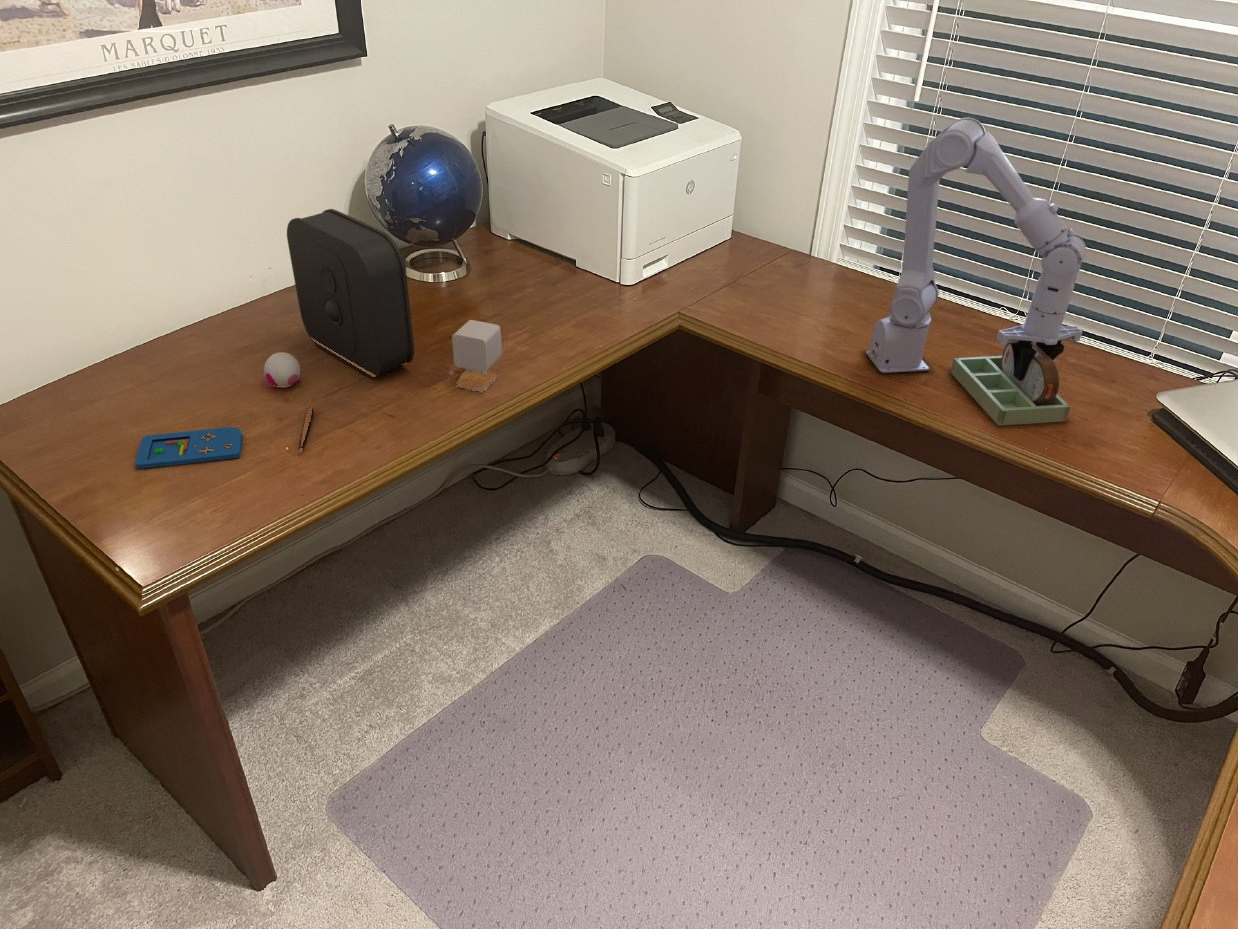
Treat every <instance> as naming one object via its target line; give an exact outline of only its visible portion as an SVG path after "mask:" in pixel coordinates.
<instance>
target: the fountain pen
mask: <svg viewBox="0 0 1238 929" xmlns="http://www.w3.org/2000/svg"><path fill="white" fill-rule="evenodd" d="M310 407H311V406H309V407H308V409H309V408H310ZM306 414H307V412H306ZM306 414H305V415H304V416H305V417H306ZM305 417H304V420H303V426H302V430H301V432H302V431H303V427H304V423H305V422H304V421H305ZM313 419H314V407H313V408H312V415H311V420H310V422H309V426H308V430H307V433H306V436H305V440H304V442H303V445H302V447H300V446H301V437H302V433H301V434H300V439H299V446H298V453H299V454H301V453H303V451H304V450H305V447H306V443H307V441H308V437H309V434H310V430H311V426H312V425H313V424H312V423H313Z"/></svg>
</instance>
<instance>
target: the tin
mask: <svg viewBox="0 0 1238 929" xmlns="http://www.w3.org/2000/svg"><path fill="white" fill-rule="evenodd" d="M1031 344H1033V346H1032V347H1033V348H1034V349H1035V350H1036V351H1037V353H1036V354H1035V355H1034V357H1033V358H1032V360H1031V362H1030V364H1029V366H1028V368H1027V371H1026V374H1025V377H1024V379H1023V380H1022V381H1018V380H1017V379H1016V378H1015V377H1014V376H1013V375H1014V357H1013V351H1012V347H1011V344H1010V343H1007V345H1004V349H1003V352H1002V355H1001V356H1002V359H1001V370H1002V372H1003V373H1004V374H1005V375H1006V376H1007V377H1008V378H1009V379H1010V380H1011V381H1012V382H1013V383H1014V384H1015V385H1016V386H1017V387H1018V388H1019V389H1020V390H1021V391H1022V392H1023V393H1024V394H1025V395H1026V396H1027V397H1028V398H1029V399H1030V400H1031V401H1032V402H1033V403H1034V404H1035V405H1041V404H1042V405H1047V404H1050V403H1051V402H1052V401H1053V400H1054V399H1055V397H1056V395H1057V394H1058V392H1059V389H1060V372H1059V368H1058V366H1057V364H1056V362H1054V360H1052V359H1051V358H1050V357H1048V356H1047V355H1046V354H1045V353H1044V352H1043V351H1042V350H1041V349H1040V348H1039V347H1038V346H1037V345H1036V342H1032V343H1031Z"/></svg>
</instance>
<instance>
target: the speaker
mask: <svg viewBox="0 0 1238 929" xmlns="http://www.w3.org/2000/svg"><path fill="white" fill-rule="evenodd" d="M286 240H287V245H288V251H289V257H290V263H291V270H292V274H293V279H294V286H295V291H296V296H297V301H298V306H299V311H300V318H301V321H302V324H303V327H304V329H305V331H306V333H307V335H308V337H309V338H310V337H312V338H313V339H315V340H316V341H318V342H319V343H321V344H323V345H324V346H326V347H328V348H329V349H331V350H333V351H334V352H336V353H338V354H339V355H342V356H343V357H345V358H346V359H348V360H350V361H351V362H354V363H355V364H357V365H358V366H360V367H362V368H364V369H365V370H367V371H369V372H371V373H373V374H374V375H376V376H378V375H379V376H380V375H381V374H383V373H386V372H388V371H390V370H393V369H395V368H397V367H396V366H398V367H404V366H406V365H401V364H404V363H406V362H407V363H409V362H410V363H412V361H413V359H414V356H415V344H414V342H415V341H414V333H413V324H412V323H413V322H412V315H411V313H412V312H411V305H410V298H409V297H410V296H409V294H410V293H409V286H408V277H407V269H406V264H405V260H404V257H403V255H402V252H401V250H400V248H399V247H398V245H397V243H396V242H395V240H394V239H393V237H392V236H390V235H389V234H388V233H387V232H385V231H383V230H381V229H379V228H377V227H375V226H372V225H370V224H368V223H366V222H364V221H362V220H359V219H357V218H354V217H352V216H350V215H349V214H345V213H343V212H341V211H339V210H337V209H334V208H328V209H325V210H324V211H323V210H322V212H320V213H317V214H313V215H309V216H305V217H295V218H292V219H290V221H289V222H288V223H287V226H286ZM311 341H312V343H314V345H315V346H316V347H317V348H318V349H320V350H321V351H323V352H324V353H326V354H328V355H330V356H331V357H333V358H334V359H336V360H337V361H339V362H341V363H343V364H344V365H346V366H348V367H349V368H351V369H352V370H354V371H356V372H358V374H359V373H360V374H361V375H362V376H364V377H366V378H368V379H375V378H374V377H372V376H371V375H369V374H367V373H366V372H364V371H362V370H361V369H359V368H357V367H356V366H354V365H352V364H351V363H349V362H347V361H346V360H344V359H342V358H341V357H339V356H337V355H336V354H334V353H332V352H331V351H329V350H327V349H326V348H324V347H322V346H321V345H319V344H317V343H316V342H314V341H313V340H311ZM410 363H409V364H410ZM399 365H400V366H399ZM394 367H395V368H394ZM392 368H393V369H392ZM389 369H390V370H389ZM387 370H388V371H387ZM385 371H386V372H385ZM382 372H383V373H382ZM379 376H378V377H379Z"/></svg>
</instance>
